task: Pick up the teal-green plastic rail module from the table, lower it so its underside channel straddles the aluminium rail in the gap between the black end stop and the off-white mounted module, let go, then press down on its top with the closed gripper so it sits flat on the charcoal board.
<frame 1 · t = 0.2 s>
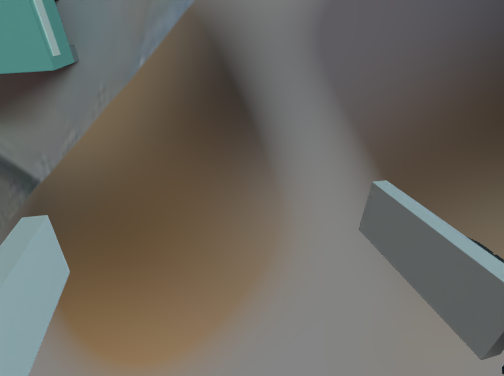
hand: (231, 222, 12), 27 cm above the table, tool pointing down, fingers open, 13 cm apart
rail module: (39, 23, 28), on the table
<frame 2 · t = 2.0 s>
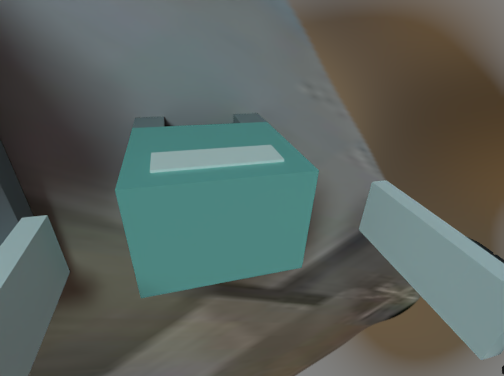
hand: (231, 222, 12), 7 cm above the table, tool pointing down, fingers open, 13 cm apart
rail module: (202, 155, 17), on the table
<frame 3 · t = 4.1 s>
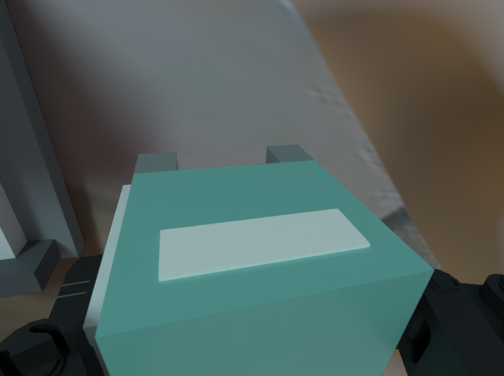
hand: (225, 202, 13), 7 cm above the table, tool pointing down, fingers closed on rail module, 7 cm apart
rail module: (224, 197, 13), point 7 cm above the table, touching gripper
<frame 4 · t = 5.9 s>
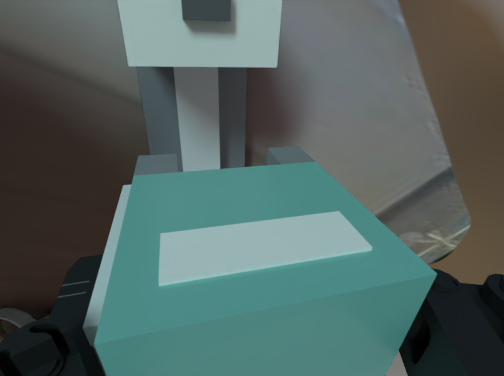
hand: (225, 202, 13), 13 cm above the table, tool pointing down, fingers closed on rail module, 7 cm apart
ceramic mug: (43, 327, 31), on the table
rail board: (194, 92, 23), on the table
rail module: (224, 199, 13), point 13 cm above the table, touching gripper
when the fingers open (2 cm above the table, at t = 7.9 s): rail module stays where it is, resting on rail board.
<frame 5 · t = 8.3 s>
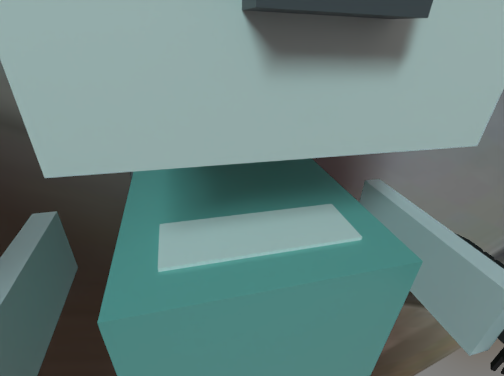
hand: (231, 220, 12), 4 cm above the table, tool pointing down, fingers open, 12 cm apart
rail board: (217, 138, 14), on the table
rail module: (222, 195, 14), point 1 cm above the table, touching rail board
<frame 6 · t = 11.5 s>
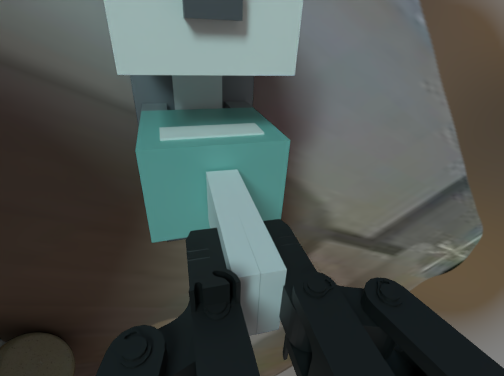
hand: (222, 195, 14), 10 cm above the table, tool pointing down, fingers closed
ceramic mug: (15, 348, 28), on the table
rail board: (194, 98, 20), on the table
rail module: (198, 137, 20), point 2 cm above the table, touching gripper, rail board
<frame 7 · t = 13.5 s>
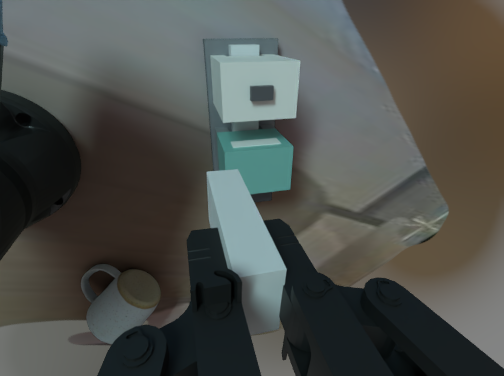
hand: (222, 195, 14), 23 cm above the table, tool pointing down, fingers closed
ceramic mug: (121, 281, 44), on the table
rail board: (241, 123, 35), on the table
rail module: (243, 145, 35), point 1 cm above the table, touching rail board
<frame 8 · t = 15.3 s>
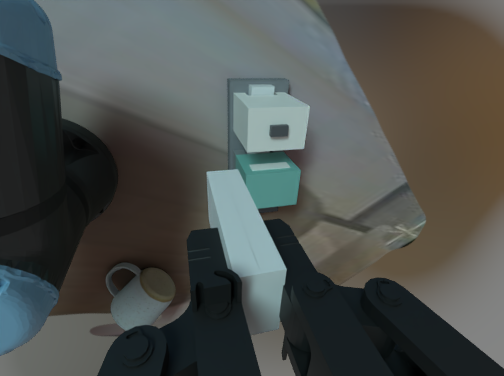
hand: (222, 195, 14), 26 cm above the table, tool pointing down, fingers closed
ceramic mug: (139, 278, 49), on the table
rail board: (254, 145, 42), on the table
rail module: (255, 164, 42), point 1 cm above the table, touching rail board
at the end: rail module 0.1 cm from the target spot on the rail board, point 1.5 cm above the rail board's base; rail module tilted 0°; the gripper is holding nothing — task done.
